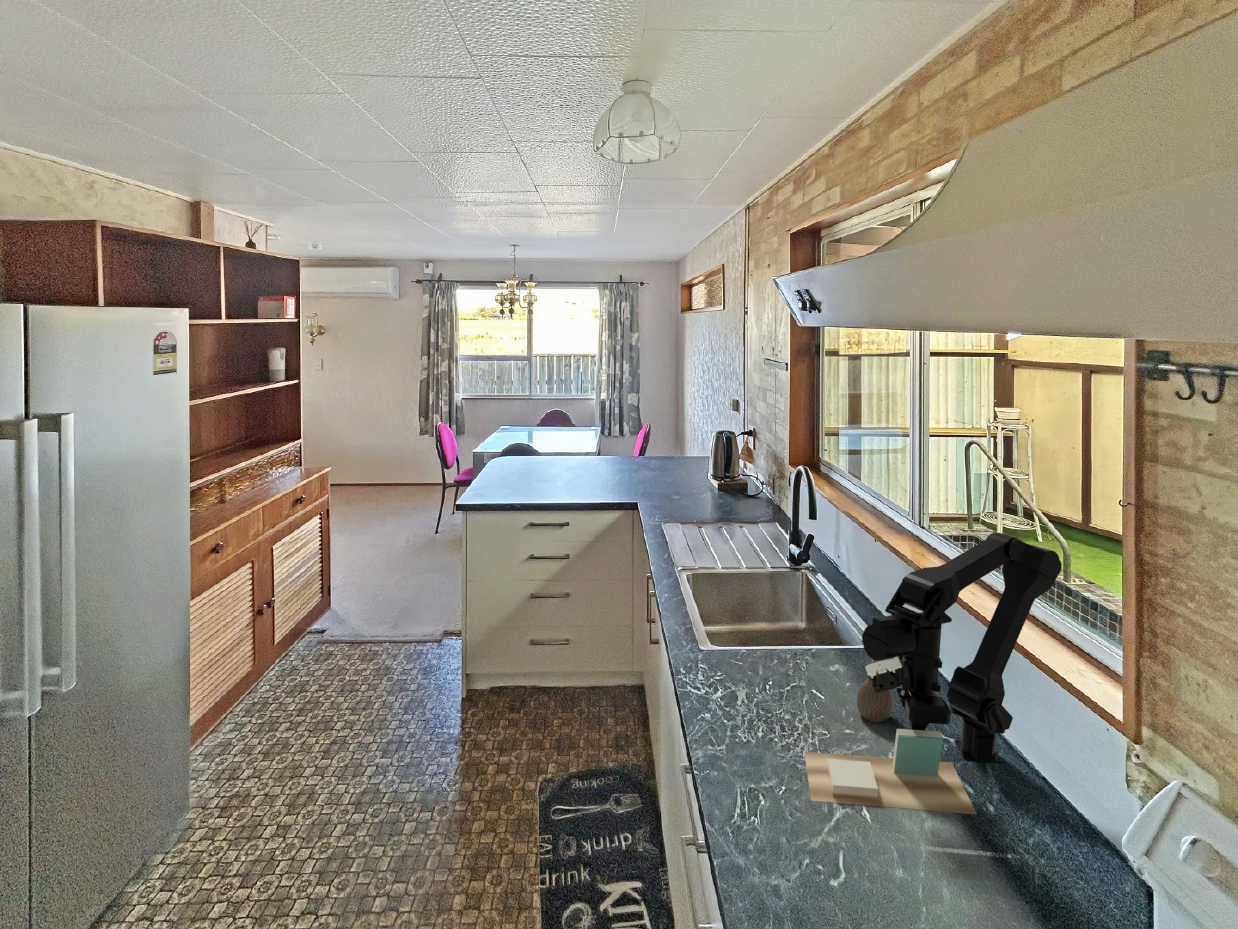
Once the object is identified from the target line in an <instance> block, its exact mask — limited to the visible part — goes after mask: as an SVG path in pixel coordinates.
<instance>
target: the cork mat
mask: <svg viewBox="0 0 1238 929" xmlns="http://www.w3.org/2000/svg"><path fill="white" fill-rule="evenodd" d="M803 753H804V754H803V755H804V760H805V766H806V767H805V768H806V775H807V781H808V788H809V794H810V801H811V802H820V803H822V802H823V803H832V804H833V803H834V804H835V803H836V804H844V805H845V804H846V805H856V806H857V805H859V806H869V807H883V808H892V809H903V810H904V809H908V810H915V811H917V810H918V811H930V812H942V813H955V814H965V815H966V814H967V815H977V812H976V810H975V807H974V805H973V803H972V801H971V799H970V797H969V795H968V794H967V791H966V789H965V787H964V785H963V783H962V781H961V778H960V776H959V775H958V772H957V770H956V768H955V766H954V764H953V763H952V762H950V761H949V762H948V761H940V763H939V770H938V776H924V775H911V774H897V773H894V771H893V766H892V763H893V757H880V756H867V755H866V756H865V755H864V756H863V755H852V754H837V753H826V752H824V753H823V752H811V751H810V752H809V751H804V752H803ZM828 759H837V760H850V761H864V762H870V763H871V766H872V770H873V773H874V777H875V780H876V783H877V787H878V799H872V798H860V797H847V796H835V795H832V790H831V785H830V780H829V775H828V770H827V763H828Z"/></svg>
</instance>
